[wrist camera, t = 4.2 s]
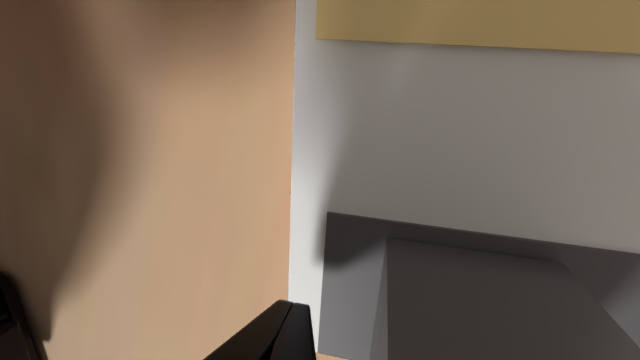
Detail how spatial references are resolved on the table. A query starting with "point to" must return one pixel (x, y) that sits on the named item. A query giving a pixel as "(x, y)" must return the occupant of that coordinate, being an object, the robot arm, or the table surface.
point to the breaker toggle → (487, 309)
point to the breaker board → (462, 146)
